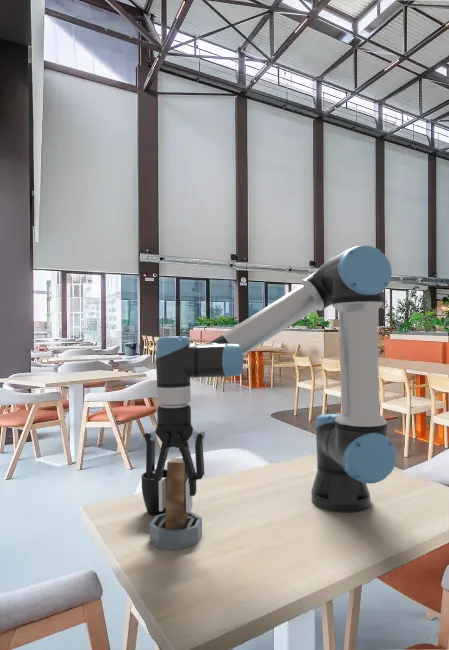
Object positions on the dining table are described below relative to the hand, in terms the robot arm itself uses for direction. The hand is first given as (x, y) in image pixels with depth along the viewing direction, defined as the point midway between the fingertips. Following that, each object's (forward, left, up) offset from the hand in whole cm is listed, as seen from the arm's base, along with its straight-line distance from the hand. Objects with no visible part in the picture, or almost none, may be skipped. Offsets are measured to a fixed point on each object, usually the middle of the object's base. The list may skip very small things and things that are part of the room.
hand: (175, 509), depth 95 cm
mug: (+7, -12, -6) cm, 15 cm away
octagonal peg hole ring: (0, 0, -6) cm, 6 cm away
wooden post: (0, 0, -5) cm, 5 cm away
